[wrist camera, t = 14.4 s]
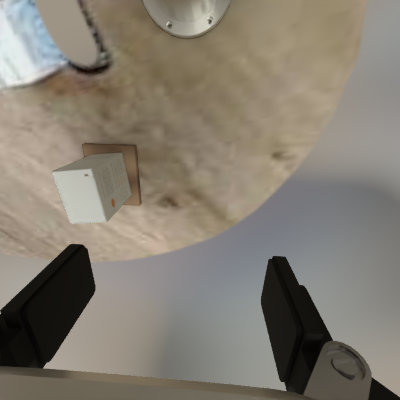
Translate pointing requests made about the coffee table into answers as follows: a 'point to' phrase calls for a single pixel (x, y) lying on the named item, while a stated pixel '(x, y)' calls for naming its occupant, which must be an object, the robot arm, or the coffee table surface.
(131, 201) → the walnut coaster board
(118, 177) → the small box
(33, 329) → the robot arm
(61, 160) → the coffee table surface
